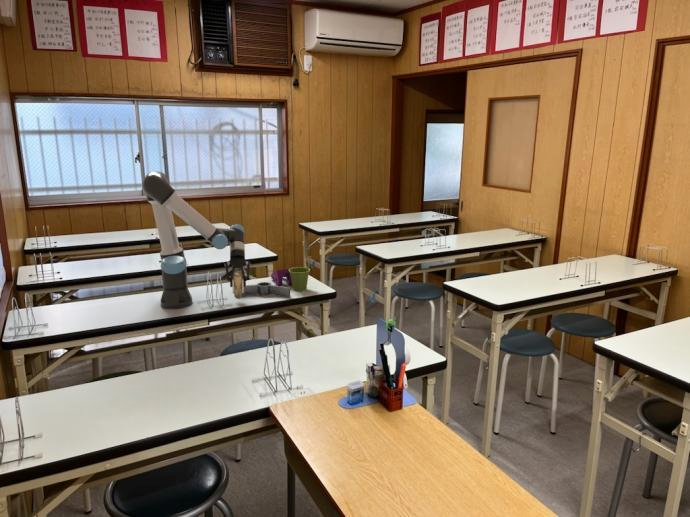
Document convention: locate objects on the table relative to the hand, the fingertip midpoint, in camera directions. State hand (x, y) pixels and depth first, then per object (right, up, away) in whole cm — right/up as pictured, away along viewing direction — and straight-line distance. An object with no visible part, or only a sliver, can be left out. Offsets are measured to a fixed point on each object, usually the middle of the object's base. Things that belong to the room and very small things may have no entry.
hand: (238, 292), depth 249 cm
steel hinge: (+10, -2, +18) cm, 21 cm away
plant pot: (+28, 0, +26) cm, 38 cm away
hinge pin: (-1, -2, +4) cm, 5 cm away
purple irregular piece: (+17, +3, +38) cm, 42 cm away
